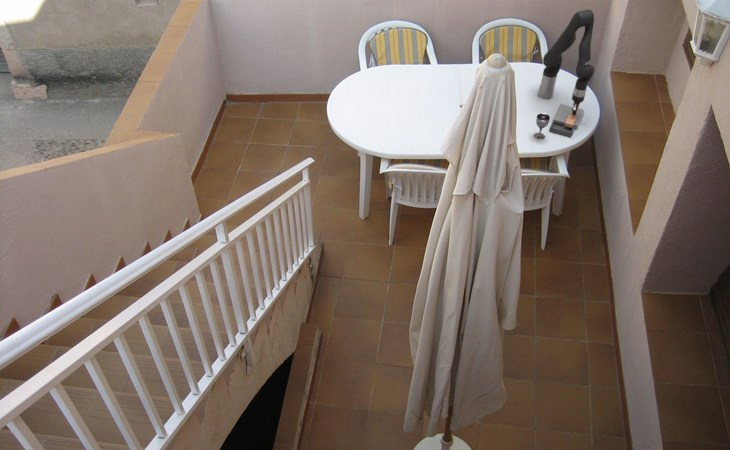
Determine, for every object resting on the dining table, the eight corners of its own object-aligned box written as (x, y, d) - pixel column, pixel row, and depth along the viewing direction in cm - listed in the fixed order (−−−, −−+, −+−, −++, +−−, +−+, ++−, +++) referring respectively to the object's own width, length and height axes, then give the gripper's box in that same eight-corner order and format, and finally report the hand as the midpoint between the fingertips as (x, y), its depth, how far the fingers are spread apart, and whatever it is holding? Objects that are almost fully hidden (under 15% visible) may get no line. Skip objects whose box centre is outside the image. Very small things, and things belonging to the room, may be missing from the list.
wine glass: (531, 132, 440) (535, 113, 430) (543, 131, 441) (547, 112, 430) (534, 140, 435) (538, 121, 424) (547, 139, 435) (551, 120, 424)
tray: (549, 131, 441) (550, 127, 438) (552, 123, 446) (553, 119, 444) (570, 137, 436) (571, 133, 434) (574, 129, 442) (575, 125, 440)
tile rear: (566, 121, 443) (567, 118, 441) (568, 117, 446) (569, 114, 444) (574, 123, 442) (575, 120, 440) (576, 119, 445) (577, 115, 443)
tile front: (564, 126, 440) (565, 122, 438) (566, 121, 443) (567, 118, 441) (572, 128, 439) (573, 125, 437) (574, 123, 442) (575, 120, 440)
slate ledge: (552, 123, 447) (552, 119, 445) (559, 107, 459) (560, 103, 457) (576, 129, 442) (577, 125, 440) (583, 113, 454) (584, 109, 452)
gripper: (575, 86, 438) (570, 108, 451) (570, 97, 430) (565, 119, 443) (587, 89, 436) (581, 111, 449) (582, 100, 428) (577, 122, 440)
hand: (573, 115), depth 446 cm, fingers closed
